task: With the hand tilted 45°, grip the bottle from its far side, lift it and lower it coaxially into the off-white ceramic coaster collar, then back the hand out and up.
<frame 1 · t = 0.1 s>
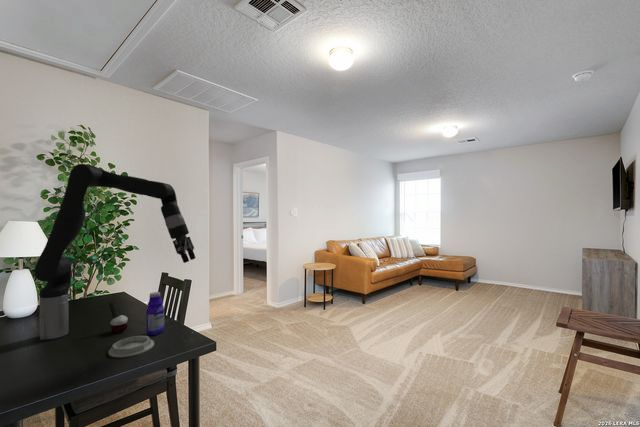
hand: (190, 260, 133), 31 cm above the table, tool tilted 20°, fingers open, 8 cm apart
bottle: (155, 333, 133), on the table
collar: (132, 348, 118), on the table
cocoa: (118, 331, 135), on the table
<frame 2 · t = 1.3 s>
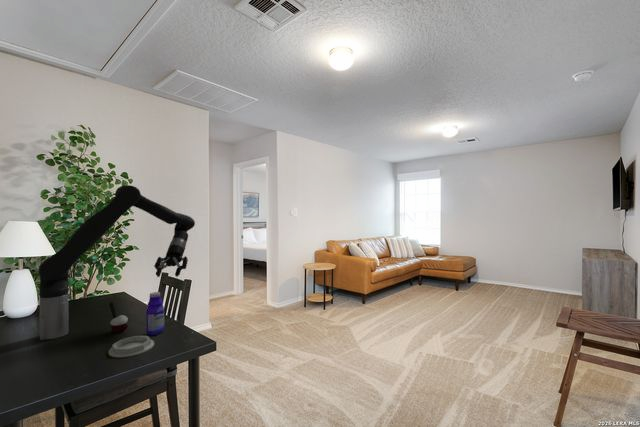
hand: (167, 275, 144), 22 cm above the table, tool tilted 45°, fingers open, 8 cm apart
nothing on the table moved.
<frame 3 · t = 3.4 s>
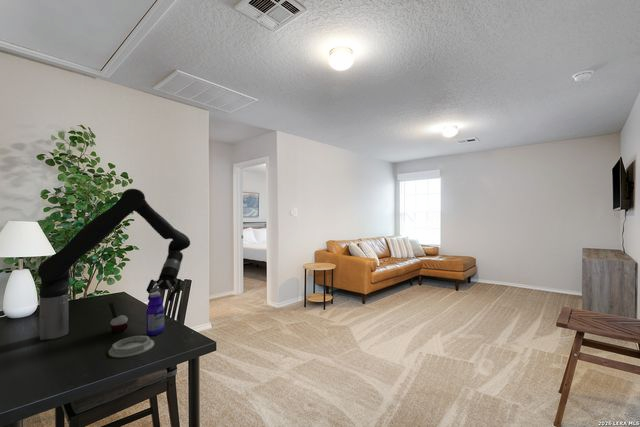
hand: (159, 300, 136), 13 cm above the table, tool tilted 45°, fingers open, 8 cm apart
nothing on the table moved.
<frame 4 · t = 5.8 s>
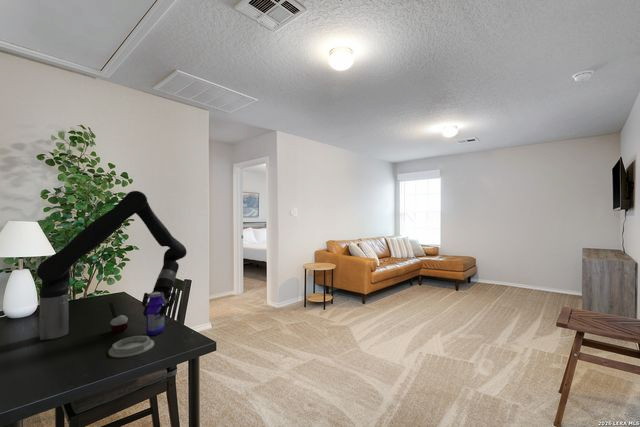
hand: (153, 315, 131), 8 cm above the table, tool tilted 45°, fingers closed on bottle, 6 cm apart
bottle: (155, 333, 133), on the table, touching gripper
everything else where it was.
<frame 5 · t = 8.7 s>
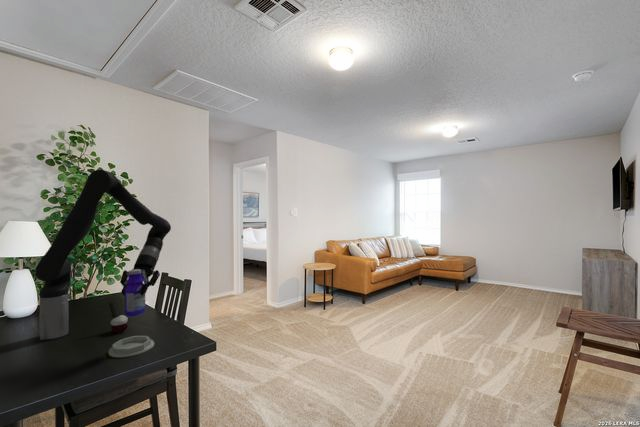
hand: (132, 294, 118), 21 cm above the table, tool tilted 45°, fingers closed on bottle, 6 cm apart
bottle: (135, 314, 120), point 12 cm above the table, touching gripper
everything else where it was.
when the fingers open (10 cm above the table, at t = 11.5 s): bottle drops 1 cm, resting on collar.
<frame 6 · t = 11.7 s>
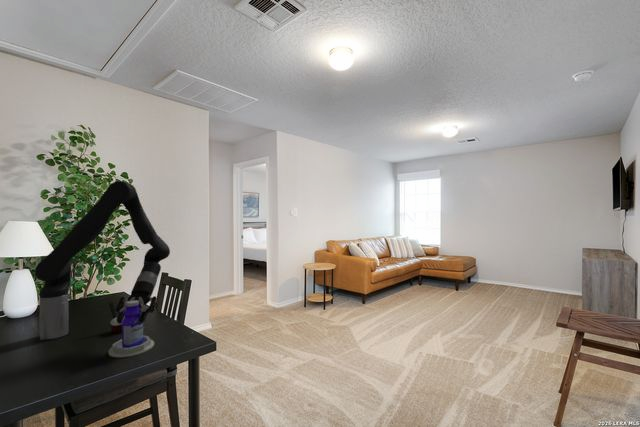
hand: (129, 322, 116), 10 cm above the table, tool tilted 45°, fingers open, 7 cm apart
bottle: (132, 346, 118), resting on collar
everything else where it was.
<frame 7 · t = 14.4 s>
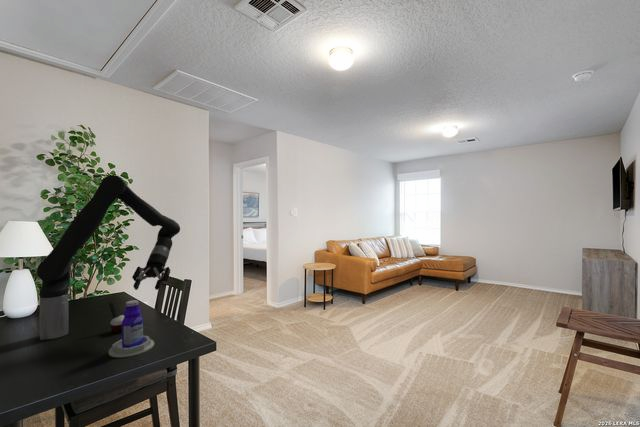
hand: (146, 288, 129), 20 cm above the table, tool tilted 45°, fingers open, 8 cm apart
nothing on the table moved.
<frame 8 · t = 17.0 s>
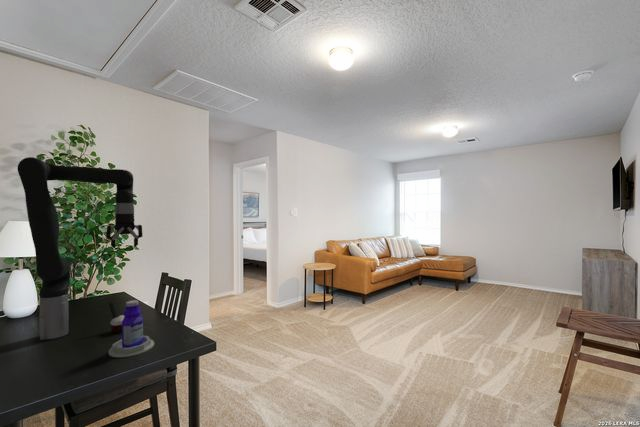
hand: (124, 247, 143), 36 cm above the table, tool pointing down, fingers open, 8 cm apart
nothing on the table moved.
at the end: bottle 0.4 cm off-centre on the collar, point 0.4 cm above the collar's base; bottle tilted 0°; the gripper is holding nothing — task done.
